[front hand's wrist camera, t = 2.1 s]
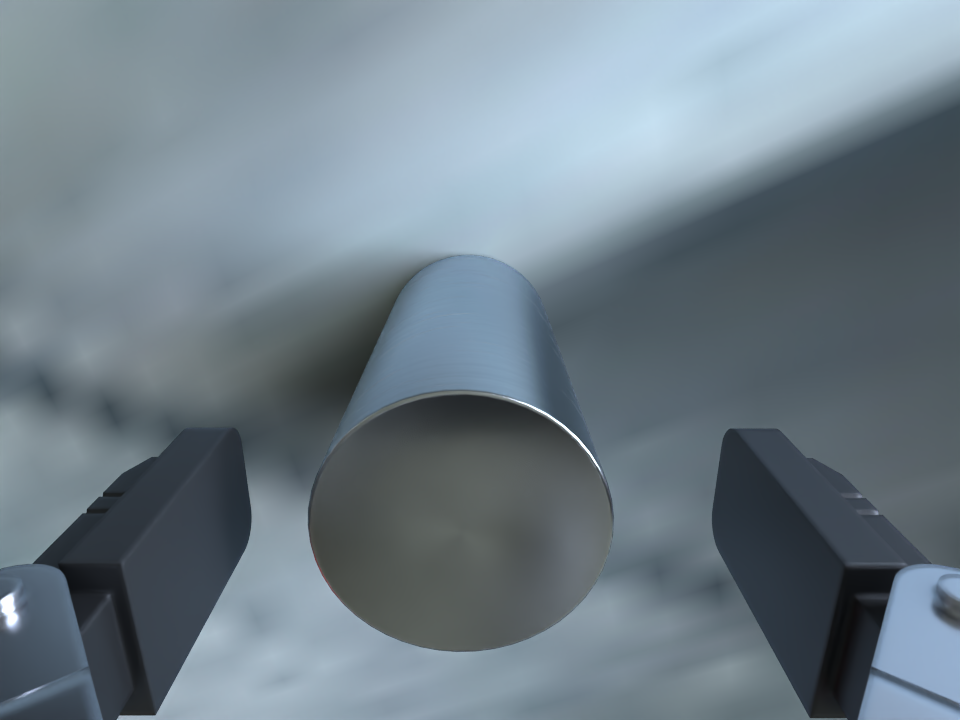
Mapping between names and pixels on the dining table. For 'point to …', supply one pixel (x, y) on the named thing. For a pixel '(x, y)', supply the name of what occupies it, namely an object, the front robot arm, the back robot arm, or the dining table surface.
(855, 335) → the dining table surface
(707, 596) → the dining table surface
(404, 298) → the metal cylinder
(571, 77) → the dining table surface
